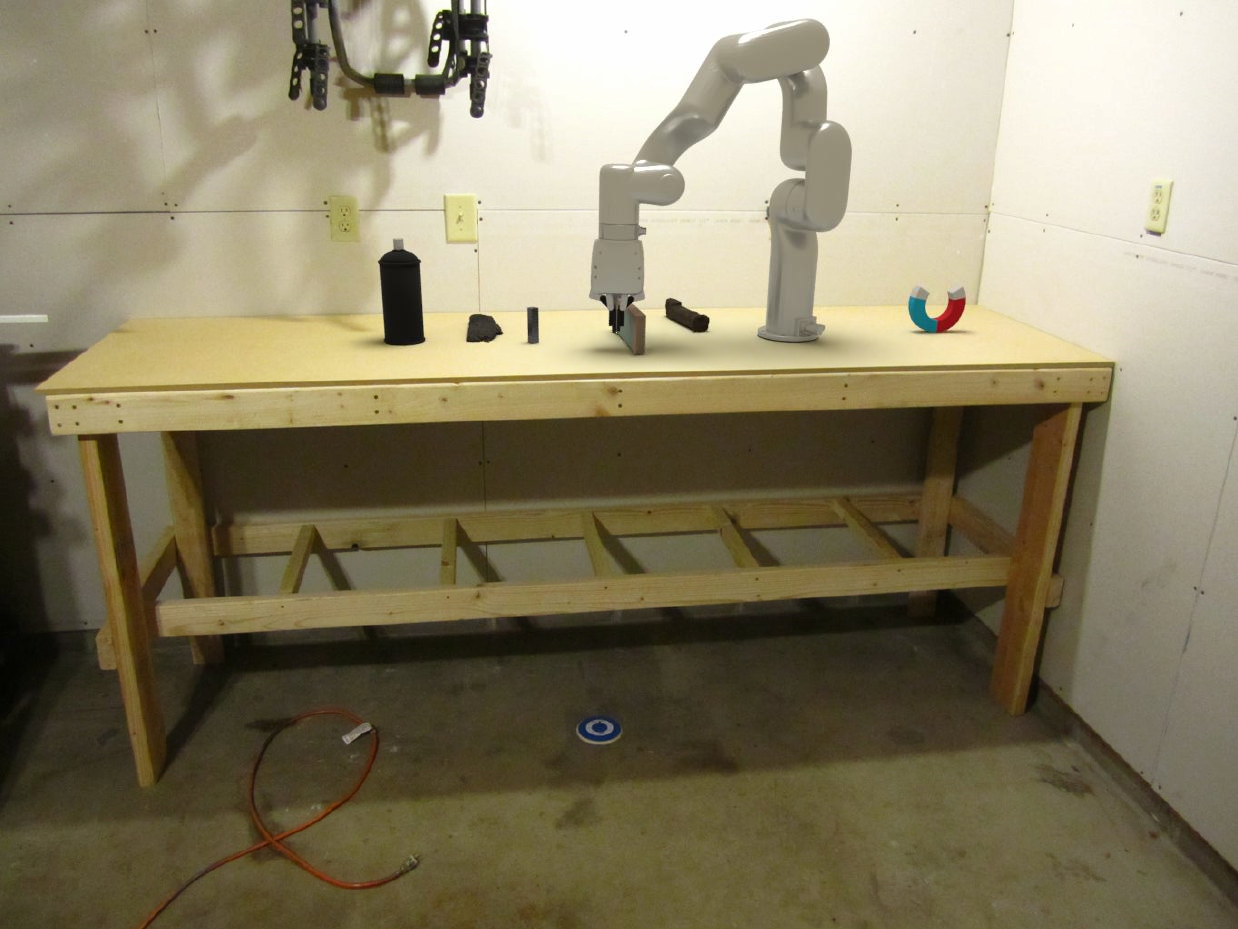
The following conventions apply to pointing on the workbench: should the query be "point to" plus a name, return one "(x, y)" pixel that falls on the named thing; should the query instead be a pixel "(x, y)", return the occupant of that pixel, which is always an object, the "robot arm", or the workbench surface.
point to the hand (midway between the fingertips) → (616, 329)
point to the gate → (633, 328)
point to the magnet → (943, 321)
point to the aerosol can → (401, 296)
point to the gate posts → (534, 321)
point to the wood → (482, 328)
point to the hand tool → (686, 316)
